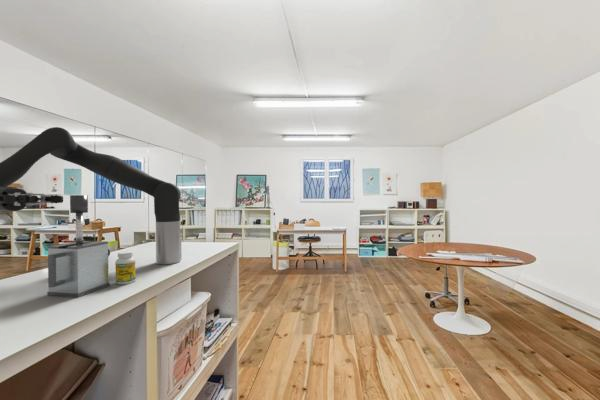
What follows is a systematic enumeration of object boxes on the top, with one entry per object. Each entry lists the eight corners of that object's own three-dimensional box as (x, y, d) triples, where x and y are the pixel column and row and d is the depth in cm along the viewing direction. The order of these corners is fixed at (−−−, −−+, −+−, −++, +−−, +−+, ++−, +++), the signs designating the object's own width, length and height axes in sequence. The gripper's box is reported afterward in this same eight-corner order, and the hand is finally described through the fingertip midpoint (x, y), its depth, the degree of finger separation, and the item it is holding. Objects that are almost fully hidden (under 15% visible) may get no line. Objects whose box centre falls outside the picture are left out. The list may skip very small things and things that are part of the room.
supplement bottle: (135, 278, 91) (134, 250, 91) (136, 282, 86) (135, 252, 86) (115, 281, 88) (115, 251, 88) (115, 285, 83) (115, 254, 83)
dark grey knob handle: (80, 254, 83) (80, 195, 83) (100, 254, 82) (100, 195, 82) (57, 259, 77) (56, 195, 76) (78, 259, 75) (77, 195, 75)
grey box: (81, 284, 85) (81, 240, 85) (109, 285, 84) (109, 241, 84) (34, 299, 72) (34, 248, 72) (66, 301, 71) (66, 249, 71)
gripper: (-28, 185, 77) (19, 185, 74) (30, 187, 91) (71, 187, 88) (-28, 212, 77) (19, 212, 74) (30, 210, 91) (71, 210, 88)
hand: (47, 199), depth 81 cm, fingers open, 8 cm apart
